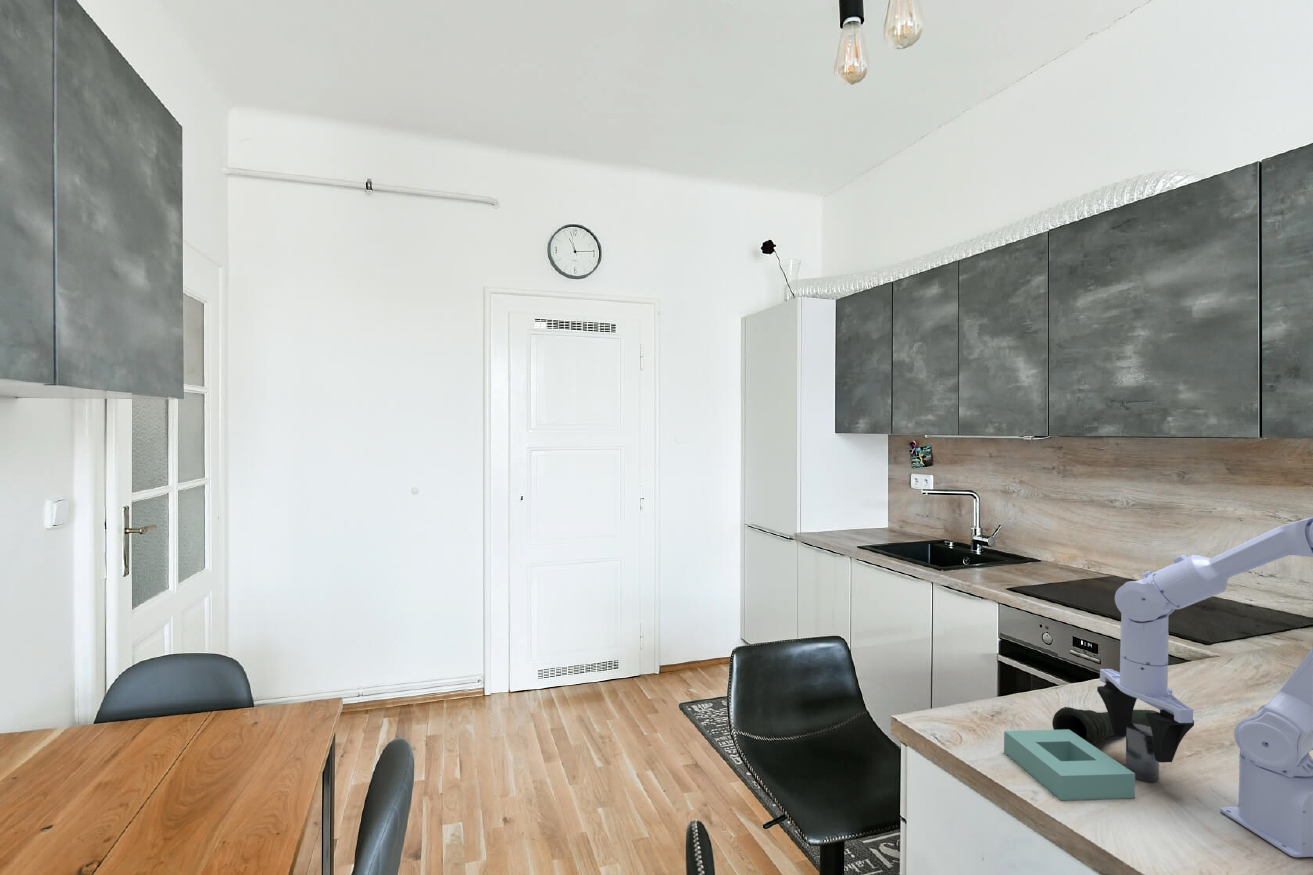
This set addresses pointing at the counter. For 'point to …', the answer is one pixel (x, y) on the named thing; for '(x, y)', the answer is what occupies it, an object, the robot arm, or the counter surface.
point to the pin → (1141, 753)
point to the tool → (1092, 722)
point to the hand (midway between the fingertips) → (1141, 747)
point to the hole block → (1069, 765)
